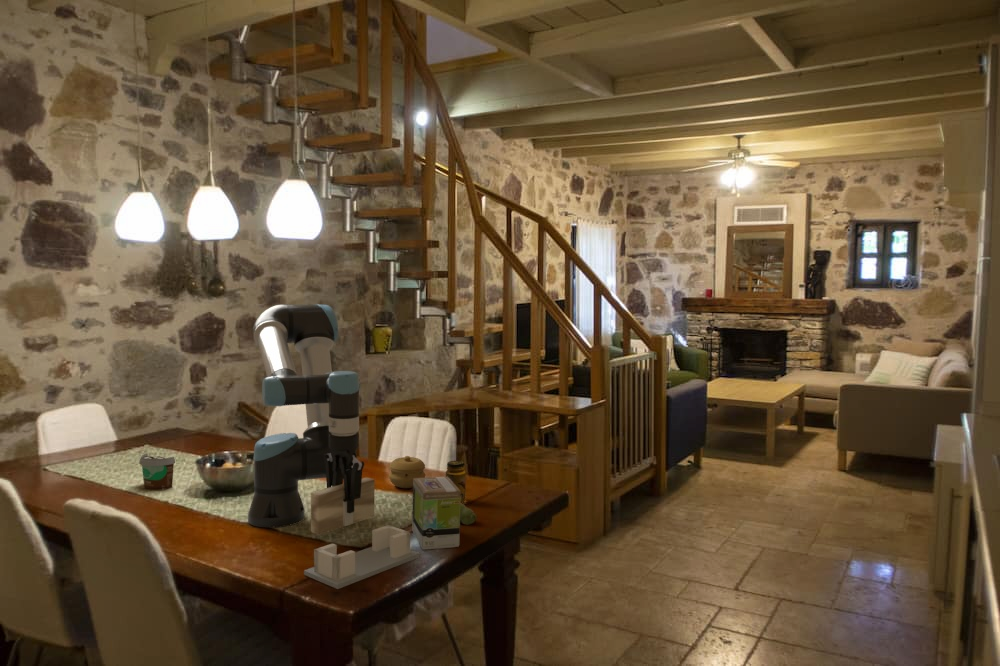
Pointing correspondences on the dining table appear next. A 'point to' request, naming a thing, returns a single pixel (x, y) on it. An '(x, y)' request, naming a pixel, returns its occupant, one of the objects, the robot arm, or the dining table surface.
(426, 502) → the tea box
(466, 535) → the dining table surface
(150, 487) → the food container
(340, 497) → the slat
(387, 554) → the frame
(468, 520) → the pear
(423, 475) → the pot
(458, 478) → the condiment
